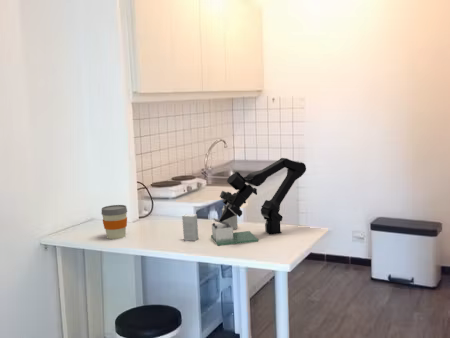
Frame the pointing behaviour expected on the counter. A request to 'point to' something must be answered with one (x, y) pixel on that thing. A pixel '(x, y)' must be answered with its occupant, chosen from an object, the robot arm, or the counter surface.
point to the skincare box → (190, 227)
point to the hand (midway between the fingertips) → (220, 221)
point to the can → (231, 220)
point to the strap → (221, 222)
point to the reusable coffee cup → (115, 221)
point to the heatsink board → (239, 238)
